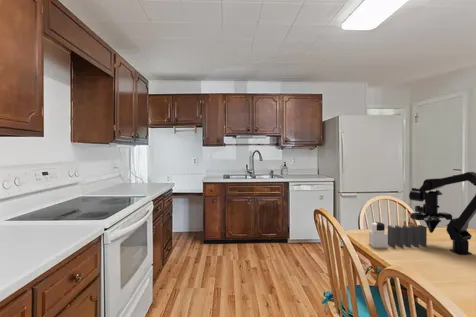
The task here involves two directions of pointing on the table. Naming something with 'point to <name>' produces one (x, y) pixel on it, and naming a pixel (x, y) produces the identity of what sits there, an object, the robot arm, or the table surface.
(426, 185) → the robot arm
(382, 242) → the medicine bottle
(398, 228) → the domino
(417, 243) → the domino
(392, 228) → the domino
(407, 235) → the domino
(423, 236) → the domino
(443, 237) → the table surface
